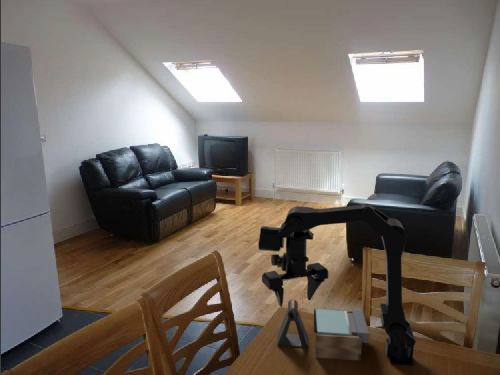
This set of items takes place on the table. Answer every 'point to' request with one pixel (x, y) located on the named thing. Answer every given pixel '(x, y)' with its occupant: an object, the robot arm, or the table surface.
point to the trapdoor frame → (337, 344)
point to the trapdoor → (342, 323)
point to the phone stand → (283, 337)
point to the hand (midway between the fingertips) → (294, 302)
